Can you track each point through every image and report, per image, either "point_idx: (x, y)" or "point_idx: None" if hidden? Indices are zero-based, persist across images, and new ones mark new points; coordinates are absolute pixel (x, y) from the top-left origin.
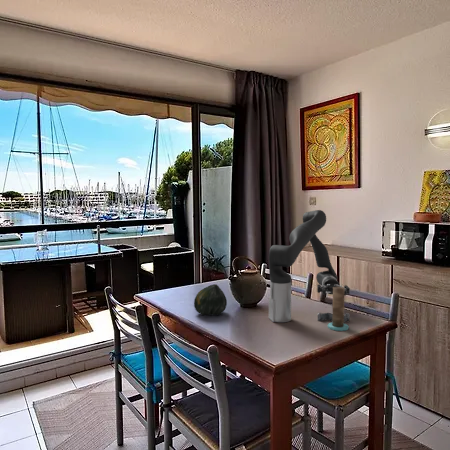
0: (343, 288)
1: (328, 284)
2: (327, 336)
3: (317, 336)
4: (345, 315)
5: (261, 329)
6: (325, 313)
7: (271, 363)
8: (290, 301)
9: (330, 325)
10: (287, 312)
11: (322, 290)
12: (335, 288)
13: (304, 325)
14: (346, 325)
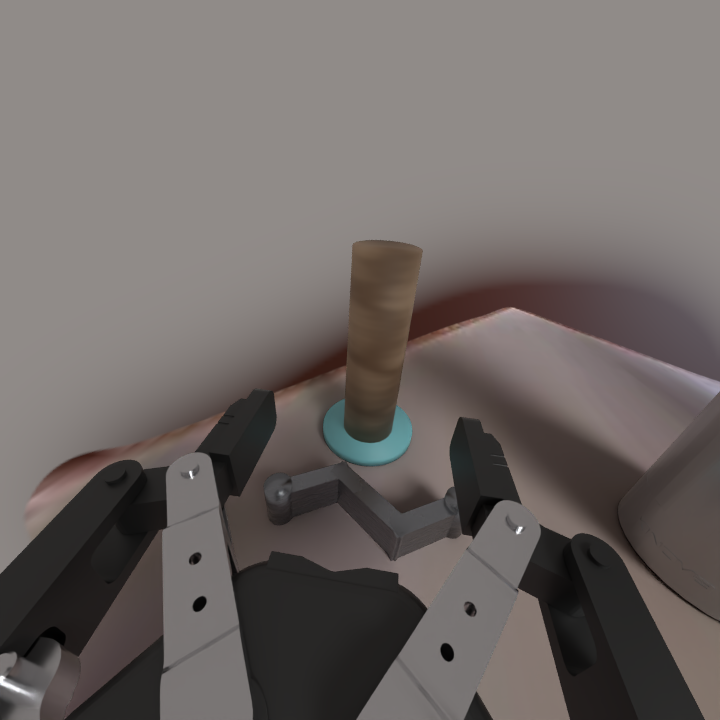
0: (361, 242)
1: (425, 705)
2: (419, 373)
3: (450, 374)
4: (298, 475)
5: (664, 426)
6: (419, 518)
7: (519, 309)
8: (696, 439)
9: (400, 425)
10: (652, 465)
11: (499, 445)
12: (409, 245)
13: (516, 456)
14: (330, 422)
